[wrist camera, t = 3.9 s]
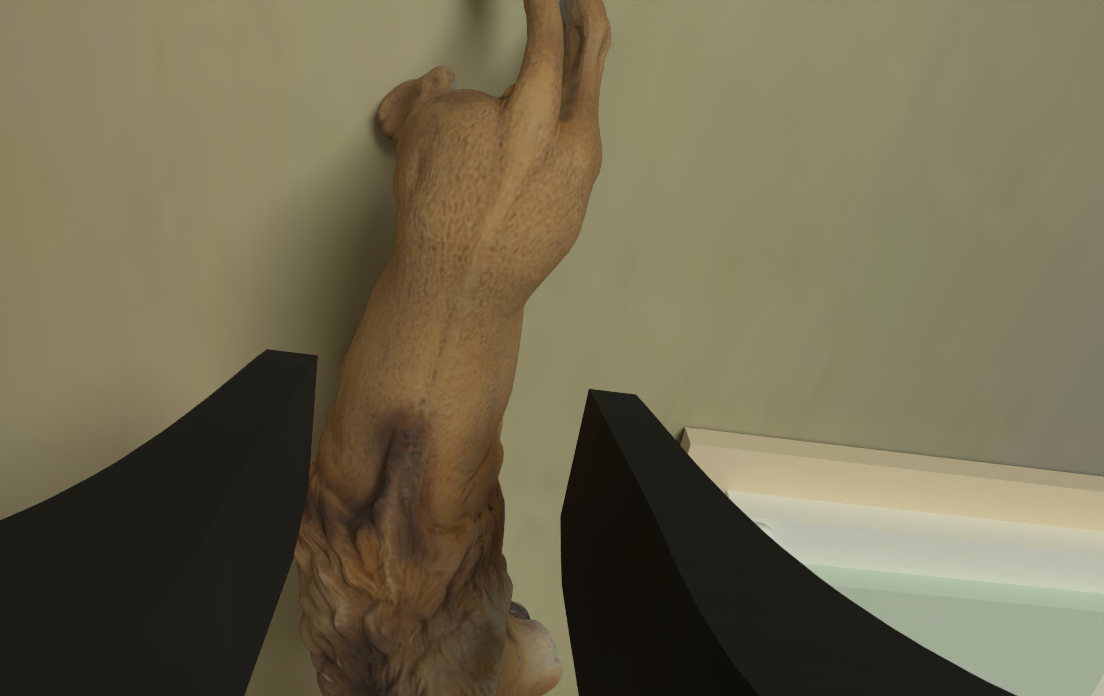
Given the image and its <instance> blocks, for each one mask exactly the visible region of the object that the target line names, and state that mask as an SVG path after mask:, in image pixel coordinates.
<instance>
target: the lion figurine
mask: <svg viewBox="0 0 1104 696" xmlns="http://www.w3.org/2000/svg"><path fill="white" fill-rule="evenodd" d="M523 1H524V8H525V12H526V17H527V36H528V39H527V45H526V50H525V54H524V58H523V62H522V66H521V71H520V73H519V76H518V79H517V81H516V84H514V85H512V86H510V87H508V88H507V89H506V91H505V92H504V94H503V95H502V96H501V97H499V98H495V97H492V96H490V95H488V94H485V93H483V92H481V91H476V90H468V89H460V90H456V77H455V74H454V73H453V72H452V70H451V69H448V68H446V67H444V66H440V67H437V68H434V69H432V70H431V71H430V72H429V73H427V74H425V75H424V76H422V77H421V78H419V79H413V80H409V81H406V82H404V83H401V84H400V85H398V86H397V87H395V88H394V89H393V90H392V91H391V92H390V93H389V94H388V95H387V96H385V98H384V99H383V101H382V102H381V104H380V106H379V109H378V120H379V123H380V126H381V129H382V132H383V134H384V135H385V136H387V137H389V138H390V139H392V140H394V141H395V142H397V143H398V145H397V165H396V168H395V171H394V176H393V192H394V197H395V201H396V205H397V213H396V237H395V252H394V254H393V256H392V257H391V259H390V260H389V262H388V263H387V265H386V267H385V268H384V270H383V272H382V273H381V275H380V277H379V279H378V280H377V282H376V284H375V286H374V288H373V290H372V292H371V295H370V297H369V300H368V304H367V307H366V310H365V312H364V315H363V317H362V319H361V322H360V324H359V326H358V328H357V330H356V333H355V335H354V337H353V339H352V342H351V344H350V347H349V349H348V352H347V353H346V354H345V355H344V356H343V359H342V361H341V364H340V372H341V377H340V382H339V387H338V394H337V399H336V401H335V402H334V404H333V405H332V407H331V408H330V410H329V412H328V415H327V421H326V426H325V428H324V430H323V432H322V436H321V440H320V444H319V449H318V454H317V457H316V459H315V461H314V462H313V463H312V464H311V465H310V470H309V485H308V493H307V498H306V502H305V507H304V512H303V516H302V521H301V526H300V530H299V535H298V539H297V544H296V548H295V552H294V556H295V558H296V561H297V568H298V573H299V592H300V593H299V602H300V605H301V606H302V608H303V614H302V617H301V620H300V623H299V624H300V632H301V635H302V638H303V641H304V644H305V647H306V648H307V649H308V650H309V651H310V653H311V659H312V662H313V665H314V667H315V668H316V670H317V681H318V685H319V688H320V691H321V693H322V695H323V696H541V695H544V694H546V693H547V692H549V691H550V690H551V689H553V688H554V687H555V686H556V685H557V684H558V683H559V681H560V680H561V678H562V666H561V663H560V662H559V660H558V659H557V657H556V645H555V642H554V640H553V638H552V636H551V634H550V633H549V631H548V630H547V629H546V628H545V627H544V626H543V625H542V624H541V623H540V622H538V621H536V620H531V619H530V616H529V614H528V612H527V610H526V608H525V606H523V605H522V604H520V603H518V602H513V601H511V598H512V590H513V585H512V582H511V579H510V577H509V575H508V573H507V563H506V559H505V557H504V555H503V554H502V546H503V535H504V523H505V503H504V498H503V495H502V491H501V487H500V483H499V480H498V476H499V473H500V469H501V466H502V463H503V455H504V451H503V446H502V444H501V441H500V435H501V429H502V422H503V415H504V412H505V410H506V407H507V404H508V401H509V398H510V394H511V391H512V387H513V382H514V377H515V372H516V366H517V360H518V353H519V346H520V339H521V331H522V322H523V308H524V305H525V303H526V301H527V300H528V299H529V297H530V296H531V294H532V293H533V292H534V291H535V290H536V289H537V287H538V286H539V285H540V284H541V283H542V282H543V281H544V279H545V278H546V277H547V276H548V275H549V274H550V273H551V272H552V270H553V269H554V268H555V267H556V266H557V265H558V264H559V262H560V261H561V260H562V259H563V258H564V257H565V256H566V254H567V253H568V252H569V251H570V249H571V248H572V246H573V245H574V243H575V242H576V239H577V237H578V235H579V232H580V230H581V227H582V223H583V220H584V216H585V213H586V209H587V205H588V201H589V197H590V194H591V190H592V187H593V184H594V182H595V180H596V178H597V176H598V174H599V171H600V168H601V161H602V145H601V138H600V131H599V120H598V107H599V93H600V85H601V79H602V73H603V68H604V62H605V57H606V54H607V52H608V49H609V47H610V44H611V27H610V23H609V20H608V18H607V16H606V11H605V6H604V3H603V2H602V0H560V1H558V0H523ZM563 58H564V64H563Z"/></svg>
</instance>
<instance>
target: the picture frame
mask: <svg viewBox="0 0 1104 696" xmlns="http://www.w3.org/2000/svg"><path fill="white" fill-rule="evenodd" d="M680 446H681V447H682V448H683V449H684V450H685V451H686V453H687V454H688V455H689V456H690V457H691V458H692V459H693V460H694V462H695V463H696V464H697V465H698V466H699V467H700V468H701V469H702V470H703V471H704V473H705V474H706V475H707V476H708V477H709V478H710V479H711V480H712V481H713V482H714V483H715V484H716V485H717V486H718V487H719V488H720V489H721V490H722V491H723V492H724V494H725V495H726V496H727V497H728V498H729V499H730V500H731V501H732V502H733V503H734V504H735V505H736V506H738V507H739V508H740V509H741V510H742V511H743V512H744V513H745V514H746V515H747V516H748V517H749V518H750V519H751V520H752V521H753V522H754V523H755V524H756V525H757V526H759V527H760V528H761V529H762V530H763V531H764V532H765V533H766V534H767V535H768V536H769V537H771V538H772V539H773V540H774V541H775V542H776V543H778V544H779V545H780V546H781V547H782V548H783V549H785V550H786V551H787V552H788V553H790V554H791V555H792V556H793V557H795V558H796V559H797V560H798V561H800V562H801V563H802V564H803V565H805V566H806V567H807V568H808V569H810V570H811V571H812V572H813V573H815V574H816V575H817V576H818V577H820V578H821V579H822V580H824V581H825V582H826V583H828V584H829V585H830V586H832V587H833V588H834V589H836V590H837V591H839V592H840V593H841V594H843V595H844V596H846V597H847V598H848V599H850V600H851V601H853V602H854V603H856V604H857V605H859V606H860V607H862V608H863V609H865V610H866V611H868V612H869V613H871V614H872V615H874V616H875V617H877V618H878V619H880V620H881V621H883V622H884V623H886V624H887V625H889V626H890V627H892V628H894V629H895V630H897V631H899V632H900V633H902V634H904V635H905V636H907V637H909V638H910V639H912V640H913V641H915V642H917V643H918V644H920V645H922V646H923V647H925V648H927V649H929V650H930V651H932V652H934V653H936V654H938V655H939V656H941V657H943V658H945V659H947V660H949V661H950V662H952V663H954V664H956V665H958V666H959V667H961V668H963V669H965V670H967V671H968V672H970V673H972V674H974V675H976V676H978V677H980V678H981V679H983V680H985V681H987V682H989V683H991V684H993V685H996V686H998V687H1000V688H1002V689H1004V690H1006V691H1008V692H1010V693H1013V694H1015V695H1017V696H1104V477H1101V476H1093V475H1084V474H1076V473H1067V472H1059V471H1050V470H1042V469H1034V468H1025V467H1017V466H1008V465H1000V464H991V463H983V462H974V461H966V460H957V459H949V458H940V457H932V456H923V455H915V454H906V453H898V452H890V451H881V450H873V449H864V448H856V447H847V446H839V445H830V444H822V443H813V442H805V441H796V440H788V439H779V438H771V437H763V436H754V435H746V434H737V433H729V432H720V431H712V430H703V429H695V428H686V427H685V430H684V434H683V437H682V441H681V444H680Z"/></svg>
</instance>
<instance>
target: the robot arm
mask: <svg viewBox="0 0 1104 696" xmlns="http://www.w3.org/2000/svg"><path fill="white" fill-rule="evenodd" d="M317 358H318V356H317V355H309V354H301V353H293V352H284V351H276V350H268V349H267V350H266V351H264V352H263V353H262V354H260V355H259V356H257V357H256V358H255V359H254V360H252V361H251V362H250V363H249V364H247V365H246V366H245V367H244V368H243V369H242V370H240V371H239V372H238V373H237V374H236V375H234V376H233V377H232V378H231V379H230V380H228V381H227V382H226V383H225V384H224V385H222V386H221V387H220V388H219V389H217V390H216V391H215V392H214V393H213V394H211V395H210V396H209V397H208V398H206V399H205V400H204V401H202V402H201V403H200V404H198V405H197V406H196V407H195V408H193V409H192V410H191V411H189V412H188V413H187V414H185V415H184V416H183V417H181V418H180V419H179V420H177V421H176V422H175V423H174V424H172V425H171V426H169V427H168V428H167V429H165V430H164V431H162V432H161V433H160V434H158V435H157V436H155V437H154V438H152V439H151V440H149V441H148V442H146V443H145V444H143V445H142V446H140V447H139V448H137V449H136V450H134V451H133V452H131V453H130V454H128V455H127V456H125V457H124V458H122V459H121V460H119V461H117V462H116V463H114V464H112V465H111V466H109V467H107V468H105V469H104V470H102V471H100V472H98V473H97V474H95V475H93V476H92V477H90V478H88V479H86V480H84V481H82V482H80V483H78V484H76V485H74V486H73V487H71V488H69V489H67V490H65V491H63V492H61V493H59V494H57V495H55V496H53V497H51V498H49V499H47V500H45V501H43V502H41V503H39V504H37V505H35V506H32V507H30V508H28V509H25V510H23V511H21V512H18V513H16V514H14V515H12V516H9V517H7V518H5V519H2V520H0V696H244V695H245V692H246V689H247V686H248V684H249V681H250V678H251V675H252V672H253V670H254V667H255V664H256V661H257V659H258V656H259V653H260V650H261V647H262V645H263V642H264V639H265V636H266V634H267V631H268V628H269V625H270V622H271V620H272V617H273V614H274V611H275V608H276V606H277V603H278V600H279V597H280V594H281V592H282V589H283V586H284V583H285V580H286V577H287V575H288V572H289V569H290V566H291V563H292V560H293V557H294V552H295V548H296V544H297V539H298V535H299V530H300V526H301V521H302V516H303V512H304V507H305V502H306V498H307V493H308V485H309V470H310V456H311V442H312V428H313V414H314V400H315V386H316V372H317ZM561 572H562V589H563V596H564V603H565V609H566V616H567V622H568V629H569V636H570V642H571V648H572V655H573V661H574V667H575V674H576V680H577V686H578V693H579V696H1017V695H1015V694H1013V693H1010V692H1008V691H1006V690H1004V689H1002V688H1000V687H998V686H996V685H993V684H991V683H989V682H987V681H985V680H983V679H981V678H980V677H978V676H976V675H974V674H972V673H970V672H968V671H967V670H965V669H963V668H961V667H959V666H958V665H956V664H954V663H952V662H950V661H949V660H947V659H945V658H943V657H941V656H939V655H938V654H936V653H934V652H932V651H930V650H929V649H927V648H925V647H923V646H922V645H920V644H918V643H917V642H915V641H913V640H912V639H910V638H909V637H907V636H905V635H904V634H902V633H900V632H899V631H897V630H895V629H894V628H892V627H890V626H889V625H887V624H886V623H884V622H883V621H881V620H880V619H878V618H877V617H875V616H874V615H872V614H871V613H869V612H868V611H866V610H865V609H863V608H862V607H860V606H859V605H857V604H856V603H854V602H853V601H851V600H850V599H848V598H847V597H846V596H844V595H843V594H841V593H840V592H839V591H837V590H836V589H834V588H833V587H832V586H830V585H829V584H828V583H826V582H825V581H824V580H822V579H821V578H820V577H818V576H817V575H816V574H815V573H813V572H812V571H811V570H810V569H808V568H807V567H806V566H805V565H803V564H802V563H801V562H800V561H798V560H797V559H796V558H795V557H793V556H792V555H791V554H790V553H788V552H787V551H786V550H785V549H783V548H782V547H781V546H780V545H779V544H778V543H776V542H775V541H774V540H773V539H772V538H771V537H769V536H768V535H767V534H766V533H765V532H764V531H763V530H762V529H761V528H760V527H759V526H757V525H756V524H755V523H754V522H753V521H752V520H751V519H750V518H749V517H748V516H747V515H746V514H745V513H744V512H743V511H742V510H741V509H740V508H739V507H738V506H736V505H735V504H734V503H733V502H732V501H731V500H730V499H729V498H728V497H727V496H726V495H725V494H724V492H723V491H722V490H721V489H720V488H719V487H718V486H717V485H716V484H715V483H714V482H713V481H712V480H711V479H710V478H709V477H708V476H707V475H706V474H705V473H704V471H703V470H702V469H701V468H700V467H699V466H698V465H697V464H696V463H695V462H694V460H693V459H692V458H691V457H690V456H689V455H688V454H687V453H686V451H685V450H684V449H683V448H682V447H681V446H680V445H679V443H678V442H677V441H676V440H675V439H674V438H673V436H672V435H671V434H670V433H669V432H668V431H667V430H666V428H665V427H664V426H663V425H662V424H661V422H660V421H659V420H658V419H657V418H656V417H655V415H654V414H653V413H652V412H651V411H650V410H649V409H648V407H647V406H646V405H645V404H644V403H643V402H642V401H641V400H640V399H639V398H638V396H637V395H634V394H626V393H618V392H610V391H602V390H594V389H589V391H588V396H587V400H586V405H585V409H584V414H583V418H582V423H581V427H580V432H579V436H578V441H577V445H576V450H575V454H574V459H573V463H572V468H571V472H570V477H569V481H568V486H567V490H566V495H565V499H564V504H563V508H562V512H561Z"/></svg>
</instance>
